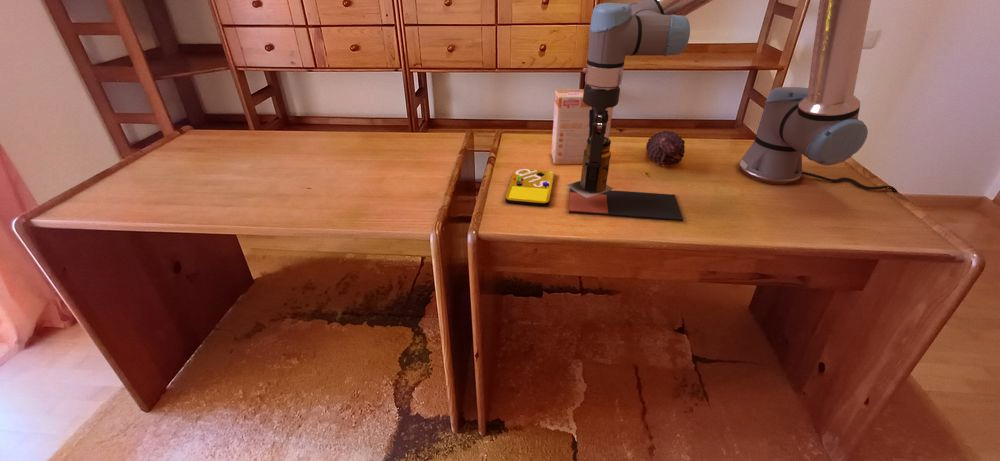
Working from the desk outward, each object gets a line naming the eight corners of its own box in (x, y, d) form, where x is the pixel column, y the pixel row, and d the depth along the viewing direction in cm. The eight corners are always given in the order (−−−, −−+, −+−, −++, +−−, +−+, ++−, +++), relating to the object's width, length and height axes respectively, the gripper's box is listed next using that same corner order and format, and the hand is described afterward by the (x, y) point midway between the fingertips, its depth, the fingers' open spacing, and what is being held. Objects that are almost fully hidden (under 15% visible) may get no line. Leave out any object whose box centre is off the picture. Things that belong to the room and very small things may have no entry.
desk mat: (674, 196, 120) (674, 193, 119) (682, 221, 110) (683, 218, 109) (569, 189, 123) (570, 186, 122) (568, 213, 113) (569, 210, 112)
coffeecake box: (600, 154, 142) (609, 88, 131) (606, 164, 136) (615, 96, 125) (550, 154, 141) (555, 88, 131) (553, 165, 135) (558, 96, 125)
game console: (550, 207, 115) (550, 202, 114) (504, 203, 116) (504, 198, 115) (554, 174, 130) (554, 169, 129) (513, 171, 131) (513, 167, 130)
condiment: (613, 189, 112) (621, 141, 106) (586, 198, 108) (592, 149, 102) (592, 177, 117) (598, 131, 111) (565, 186, 113) (570, 138, 107)
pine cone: (629, 151, 143) (647, 121, 141) (656, 166, 146) (674, 137, 143) (654, 160, 126) (675, 126, 124) (683, 177, 129) (704, 144, 127)
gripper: (584, 72, 109) (574, 165, 121) (584, 97, 93) (573, 201, 105) (617, 74, 108) (604, 167, 120) (624, 99, 92) (608, 204, 104)
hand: (590, 183), depth 113 cm, fingers closed on condiment, 6 cm apart
